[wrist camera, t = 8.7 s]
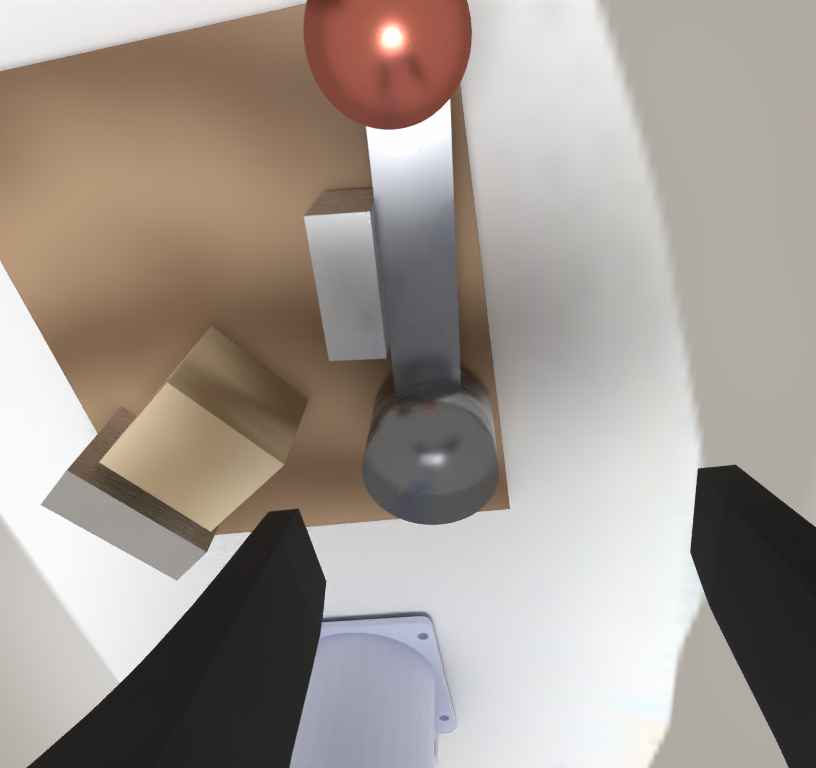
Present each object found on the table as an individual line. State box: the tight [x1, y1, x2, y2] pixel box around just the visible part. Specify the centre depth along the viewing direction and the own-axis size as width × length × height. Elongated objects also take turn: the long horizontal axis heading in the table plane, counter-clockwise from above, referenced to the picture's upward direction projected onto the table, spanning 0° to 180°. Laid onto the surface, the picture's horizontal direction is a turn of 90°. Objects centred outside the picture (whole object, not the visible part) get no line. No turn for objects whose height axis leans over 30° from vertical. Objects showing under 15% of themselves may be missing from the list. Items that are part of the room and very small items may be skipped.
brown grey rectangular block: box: [41, 407, 219, 580], centre depth 20 cm, size 5×2×4 cm, turn 48°
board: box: [0, 4, 510, 535], centre depth 19 cm, size 17×15×1 cm
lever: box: [303, 0, 499, 525], centre depth 15 cm, size 14×5×5 cm, turn 5°
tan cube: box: [100, 326, 309, 532], centre depth 19 cm, size 4×4×4 cm
